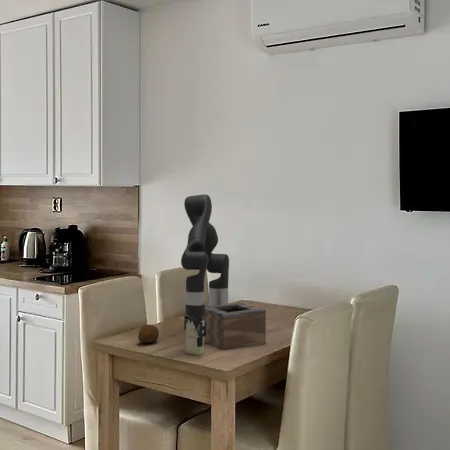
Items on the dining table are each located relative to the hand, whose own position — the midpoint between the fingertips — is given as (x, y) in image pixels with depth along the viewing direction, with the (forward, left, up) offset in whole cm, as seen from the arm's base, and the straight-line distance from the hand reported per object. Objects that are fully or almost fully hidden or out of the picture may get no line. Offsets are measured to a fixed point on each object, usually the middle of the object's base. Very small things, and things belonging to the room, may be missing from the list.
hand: (195, 344), depth 244 cm
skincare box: (0, 0, -3) cm, 3 cm away
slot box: (-8, +22, -3) cm, 24 cm away
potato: (-24, -9, -4) cm, 26 cm away
